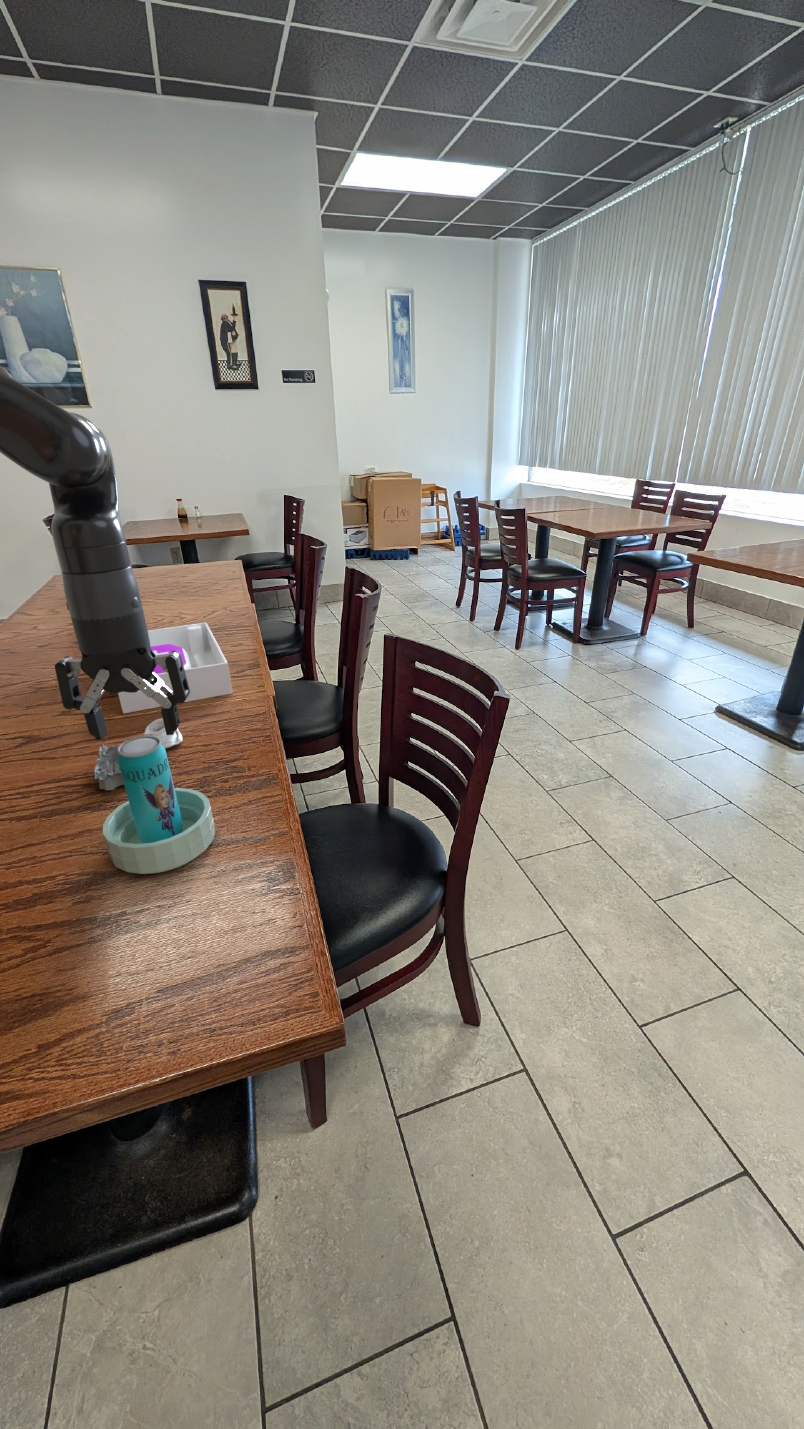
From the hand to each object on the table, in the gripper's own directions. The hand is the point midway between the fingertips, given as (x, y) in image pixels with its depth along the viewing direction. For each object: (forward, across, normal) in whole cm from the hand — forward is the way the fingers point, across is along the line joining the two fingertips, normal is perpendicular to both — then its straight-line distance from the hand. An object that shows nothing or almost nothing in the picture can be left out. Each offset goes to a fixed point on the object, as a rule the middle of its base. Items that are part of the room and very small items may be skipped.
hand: (136, 734), depth 73 cm
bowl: (+17, 0, 0) cm, 17 cm away
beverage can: (+17, 0, 0) cm, 17 cm away
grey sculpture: (+18, +12, -21) cm, 30 cm away
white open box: (+17, +15, -67) cm, 70 cm away
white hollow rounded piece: (+17, +8, -31) cm, 37 cm away
